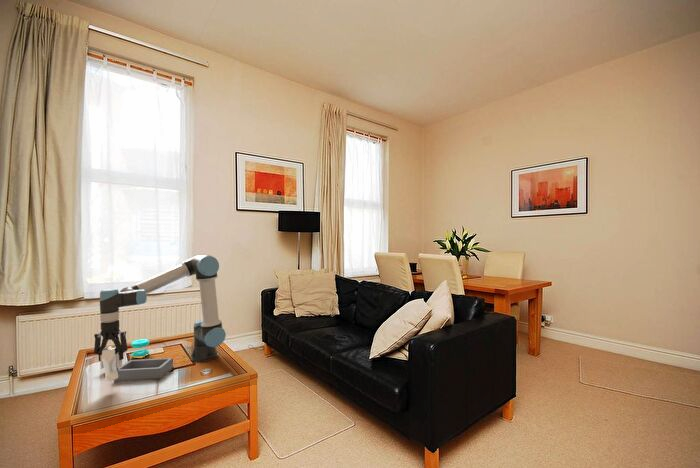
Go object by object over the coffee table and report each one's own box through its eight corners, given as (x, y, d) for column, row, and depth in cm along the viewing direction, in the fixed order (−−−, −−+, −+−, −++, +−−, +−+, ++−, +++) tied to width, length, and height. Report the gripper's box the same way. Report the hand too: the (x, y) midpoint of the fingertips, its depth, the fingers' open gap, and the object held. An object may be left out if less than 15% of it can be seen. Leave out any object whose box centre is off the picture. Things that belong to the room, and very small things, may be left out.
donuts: (135, 344, 204) (128, 341, 210) (135, 360, 204) (128, 357, 209) (152, 340, 212) (145, 337, 218) (152, 355, 212) (145, 352, 218)
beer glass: (109, 375, 166) (107, 346, 166) (124, 374, 167) (121, 344, 167) (100, 382, 159) (97, 351, 159) (115, 380, 160) (112, 349, 160)
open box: (173, 368, 190) (172, 357, 190) (160, 379, 175) (160, 368, 175) (130, 370, 188) (130, 360, 188) (113, 382, 173) (113, 370, 173)
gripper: (135, 317, 168) (136, 362, 168) (93, 319, 166) (95, 365, 166) (126, 321, 160) (128, 368, 160) (83, 323, 158) (84, 371, 159)
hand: (111, 366), depth 163 cm, fingers closed on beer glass, 7 cm apart
